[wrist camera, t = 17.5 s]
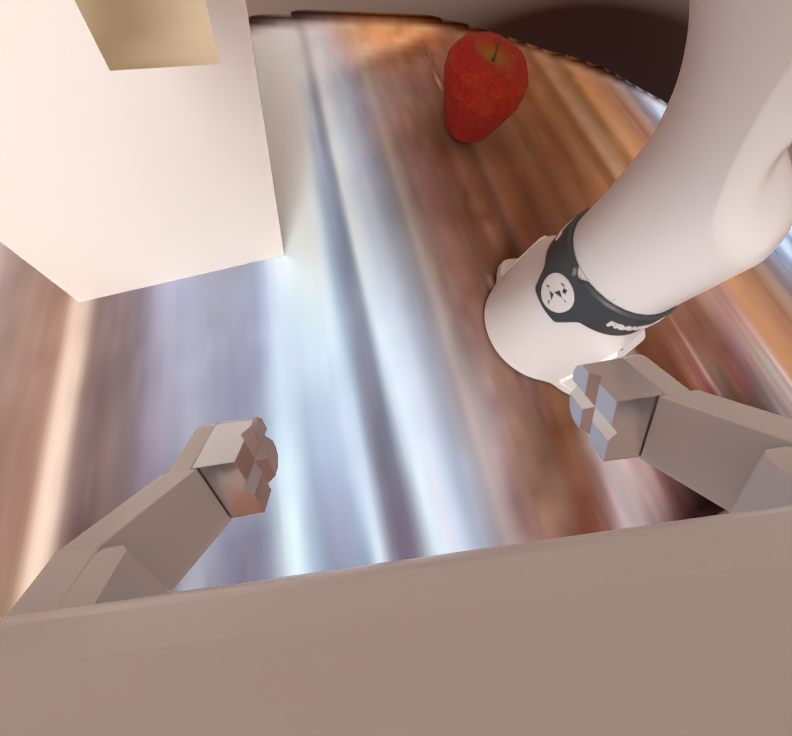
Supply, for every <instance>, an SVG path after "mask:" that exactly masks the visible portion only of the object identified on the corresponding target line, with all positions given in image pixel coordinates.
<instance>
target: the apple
mask: <svg viewBox="0 0 792 736" xmlns="http://www.w3.org/2000/svg"><path fill="white" fill-rule="evenodd" d="M527 87H528V70H527V64H526V60H525V58H524V56H523V54H522V51H521V50H519V49H518V48H517V47H516V46H515V45H514V44H513V43H512V42H510V41H509V40H507V39H506V38H504V37H503V36H501V35H498V34H495V33H491V32H474V33H469V34H466V35H465V36H464V37H462V38H461V39H460V40H458V41H457V42H456V43H455V44H454V45H453V46H452V47H451V48H450V50H449V53H448V56H447V60H446V63H445V66H444V112H445V125H446V127H447V129H448V131H449V132H450V134H451V136H452V138H453V139H455V140H456V141H458V142H460V143H473V142H478V141H481V140H483V139H484V138H486V137H487V136H488V135H489V134H490V133H491V132H493V131H494V130H495V129H496V128H497V127H499V126H500V125H501V124H502V123H503V122H504V121H505V120H506V119H507V118H508V117H509V116H510V115H511V114H512V113H513V112H514V111H516V110H517V108H518V106H519V104H520V102H521V100H522V98H523V96H524V94H525V91H526V89H527Z"/></svg>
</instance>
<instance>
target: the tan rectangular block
mask: <svg viewBox="0 0 792 736" xmlns="http://www.w3.org/2000/svg"><path fill="white" fill-rule="evenodd" d="M75 2H76V4H77V6H78V8H79V10H80V12H81V14H82V16H83V18H84V20H85V22H86V24H87V26H88V28H89V30H90V32H91V34H92V36H93V38H94V40H95V42H96V44H97V46H98V48H99V50H100V52H101V54H102V56H103V58H104V60H105V62H106V64H107V66H108V68H109V70H110V71H114V70H130V69H146V68H163V67H179V66H195V65H211V64H220V61H219V56H218V52H217V48H216V44H215V39H214V35H213V31H212V27H211V22H210V18H209V14H208V10H207V5H206V1H205V0H75Z"/></svg>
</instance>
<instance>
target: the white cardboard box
mask: <svg viewBox="0 0 792 736" xmlns="http://www.w3.org/2000/svg"><path fill="white" fill-rule="evenodd" d="M205 1H206V5H207V10H208V14H209V18H210V22H211V27H212V31H213V35H214V39H215V44H216V48H217V52H218V56H219V61H220V64H211V65H195V66H179V67H163V68H146V69H130V70H114V71H110V70H109V68H108V66H107V64H106V62H105V60H104V58H103V56H102V54H101V52H100V50H99V48H98V46H97V44H96V42H95V40H94V38H93V36H92V34H91V32H90V30H89V28H88V26H87V24H86V22H85V20H84V18H83V16H82V14H81V12H80V10H79V8H78V6H77V4H76V2H75V0H0V242H2V243H3V244H4V245H5V246H7V247H8V248H9V249H11V250H12V251H13V252H15V253H16V254H17V255H18V256H20V257H21V258H22V259H24V260H25V261H26V262H28V263H29V264H30V265H32V266H33V267H34V268H35V269H37V270H38V271H39V272H41V273H42V274H43V275H45V276H46V277H47V278H48V279H50V280H51V281H52V282H54V283H55V284H56V285H58V286H59V287H60V288H62V289H63V290H64V291H65V292H67V293H68V294H69V295H71V296H72V297H73V298H75V299H76V300H77V301H78V302H82V301H87V300H91V299H95V298H100V297H104V296H109V295H113V294H117V293H122V292H126V291H130V290H135V289H139V288H143V287H148V286H152V285H156V284H161V283H165V282H170V281H174V280H178V279H183V278H187V277H191V276H196V275H200V274H204V273H209V272H213V271H217V270H222V269H226V268H231V267H235V266H239V265H244V264H248V263H252V262H257V261H261V260H265V259H270V258H274V257H278V256H283V255H284V250H283V244H282V237H281V231H280V224H279V217H278V211H277V204H276V198H275V191H274V184H273V178H272V171H271V165H270V158H269V151H268V145H267V138H266V131H265V125H264V118H263V112H262V105H261V98H260V92H259V85H258V79H257V72H256V65H255V59H254V52H253V46H252V39H251V32H250V26H249V19H248V13H247V6H246V0H205Z"/></svg>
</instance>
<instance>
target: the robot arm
mask: <svg viewBox="0 0 792 736" xmlns="http://www.w3.org/2000/svg"><path fill="white" fill-rule="evenodd" d="M791 144H792V0H690V16H689V25H688V35H687V42H686V47H685V53H684V58H683V63H682V67H681V71H680V74H679V77H678V81H677V83H676V86H675V89H674V91H673V94H672V97H671V99H670V101H669V104H668V106H667V108H666V110H665V112H664V114H663V116H662V118H661V120H660V122H659V124H658V126H657V128H656V129H655V131H654V133H653V134H652V136H651V137H650V139H649V140H648V142H647V143H646V145H645V146H644V147H643V149H642V150H641V151H640V153H639V154H638V155H637V156H636V157H635V159H634V160H633V161H632V162H631V164H630V165H629V166H628V167H627V168H626V170H625V171H624V172H623V173H622V174H621V175H620V177H619V178H618V179H617V180H616V181H615V182H614V183H613V185H612V186H611V187H610V188H609V189H608V190H607V191H606V192H605V193H604V194H603V196H602V197H601V198H600V199H599V200H598V201H597V202H596V203H595V204H594V205H593V206H592V207H591V208H588V209H586V210H584V211H582V212H581V213H579V214H578V215H577V216H576V217H575V218H574V219H572V220H571V221H569V222H568V223H567V224H566V225H565V226H564V227H563V228H562V229H561V231H560V232H559V233H558V235H553V236H543V237H541V238H540V239H538V240H537V241H536V242H535V243H534V244H533V245H532V246H531V247H530V248H529V249H528V250H527V251H526V252H525V253H524V254H523V255H522V256H521V257H519V258H517V259H507V260H504V261H503V262H502V263H501V264H500V265H499V266H498V269H497V280H496V284H495V286H494V288H493V289H492V291H491V293H490V294H489V296H488V299H487V301H486V305H485V312H484V318H485V326H486V330H487V333H488V336H489V338H490V341H491V343H492V344H493V346H494V348H495V349H496V351H497V352H498V354H499V355H500V356H501V357H502V358H503V359H504V360H505V361H506V362H507V363H508V364H509V365H510V366H511V367H513V368H514V369H515V370H517V371H519V372H520V373H522V374H524V375H526V376H528V377H531V378H534V379H538V380H542V381H546V382H549V383H551V384H553V385H554V386H556V387H557V388H559V389H560V390H562V391H563V392H565V393H567V394H569V395H570V403H569V404H570V410H571V414H572V417H573V419H574V421H575V423H576V424H577V426H578V427H579V429H581V430H583V431H585V432H587V433H589V434H590V437H589V442H590V444H591V445H592V446H593V448H594V449H595V450H596V452H597V453H598V455H599V456H600V457H601V459H602V460H603V461H610V460H618V459H627V458H635V457H641V458H640V459H642V460H644V461H645V462H647V463H649V464H650V465H652V466H654V467H655V468H657V469H659V470H660V471H662V472H664V473H665V474H667V475H669V476H670V477H672V478H674V479H675V480H677V481H679V482H681V483H682V484H684V485H686V486H687V487H689V488H691V489H692V490H694V491H696V492H697V493H699V494H701V495H702V496H704V497H706V498H707V499H709V500H711V501H712V502H714V503H716V504H717V505H719V506H721V507H722V508H724V509H726V510H727V511H729V512H730V513H728V514H721V515H714V516H707V517H700V518H693V519H686V520H679V521H672V522H665V523H658V524H651V525H644V526H637V527H630V528H623V529H616V530H609V531H602V532H595V533H588V534H581V535H574V536H567V537H560V538H553V539H547V540H540V541H533V542H526V543H519V544H512V545H505V546H498V547H491V548H484V549H477V550H470V551H463V552H456V553H448V554H441V555H434V556H427V557H420V558H413V559H406V560H399V561H392V562H385V563H378V564H371V565H364V566H357V567H350V568H343V569H336V570H329V571H322V572H315V573H308V574H301V575H293V576H286V577H279V578H272V579H265V580H258V581H251V582H244V583H237V584H230V585H223V586H216V587H209V588H202V589H195V590H188V591H181V592H174V593H172V592H171V591H172V590H173V589H174V588H175V587H176V585H177V584H178V583H179V582H180V581H181V579H182V578H183V577H184V576H185V575H186V573H187V572H188V571H189V570H190V569H191V567H192V566H193V565H194V564H195V563H196V562H197V560H198V559H199V558H200V557H201V556H202V554H203V553H204V552H205V551H206V550H207V548H208V547H209V546H210V545H211V544H212V543H213V541H214V540H215V539H216V538H217V537H218V535H219V534H220V533H221V532H222V531H223V529H224V528H225V527H226V526H227V525H228V524H229V522H230V521H231V519H230V518H236V517H241V516H247V515H252V514H258V513H264V512H265V508H266V505H267V502H268V499H269V495H270V492H271V489H270V487H269V485H268V483H269V482H270V481H271V480H272V479H273V478H274V477H275V475H276V471H277V468H278V454H277V450H276V447H275V445H274V442H273V441H272V440H271V439H269V438H267V437H266V436H264V435H265V432H266V429H267V428H266V426H265V424H264V422H263V420H262V419H261V418H258V417H253V418H246V419H239V420H232V421H225V422H220V423H212V424H205V425H202V426H200V427H198V428H197V429H196V431H195V432H194V434H193V435H192V437H191V438H190V440H189V442H188V443H187V445H186V446H185V448H184V450H183V451H182V453H181V454H180V456H179V457H178V459H177V461H176V462H175V464H174V465H173V467H172V469H171V470H170V472H169V473H166V474H162V475H161V476H159V477H158V478H156V479H155V480H154V481H152V482H151V483H150V484H148V485H147V486H146V487H144V488H143V489H142V490H140V491H139V492H138V493H136V494H135V495H133V496H132V497H131V498H129V499H128V500H127V501H125V502H124V503H123V504H121V505H120V506H119V507H117V508H116V509H115V510H113V511H112V512H111V513H109V514H108V515H106V516H105V517H104V518H102V519H101V520H100V521H98V522H97V523H96V524H94V525H93V526H92V527H90V528H89V529H88V530H86V531H85V532H84V533H82V534H81V535H79V536H78V537H77V538H75V539H74V540H73V541H71V542H70V543H69V544H67V545H66V546H65V547H63V548H62V549H61V550H59V551H58V552H57V553H55V554H54V556H53V557H52V558H51V559H50V561H49V562H48V563H47V565H46V566H45V567H44V568H43V570H42V571H41V572H40V573H39V575H38V576H37V577H36V579H35V580H34V581H33V582H32V584H31V585H30V586H29V588H28V589H27V590H26V591H25V593H24V594H23V595H22V597H21V598H20V599H19V600H18V602H17V603H16V604H15V605H14V607H13V608H12V609H11V611H10V612H9V613H8V614H7V616H6V617H0V736H792V419H790V418H787V417H783V416H780V415H777V414H774V413H770V412H767V411H764V410H761V409H757V408H754V407H751V406H748V405H744V404H741V403H738V402H735V401H731V400H728V399H725V398H722V397H718V396H715V395H712V394H709V393H705V392H702V391H699V390H695V391H690V390H688V389H687V388H686V387H685V386H683V385H682V384H681V383H679V382H678V381H677V380H675V379H674V378H673V377H672V376H670V375H669V374H668V373H666V372H665V371H664V370H662V369H661V368H660V367H659V366H657V365H656V364H655V363H653V362H652V361H651V360H649V359H648V358H647V357H646V356H643V355H640V354H636V355H631V356H626V357H623V356H625V355H626V354H627V353H628V352H630V351H631V350H632V349H633V348H634V347H636V346H637V345H638V344H639V343H640V342H642V341H643V340H644V338H645V328H647V327H649V326H651V325H653V324H655V323H657V322H659V321H660V320H661V319H663V318H664V317H665V316H667V315H669V314H670V313H671V312H672V311H674V310H675V309H676V307H677V306H678V305H679V304H681V303H683V302H685V301H687V300H689V299H690V298H692V297H694V296H696V295H698V294H700V293H702V292H704V291H706V290H708V289H710V288H712V287H714V286H716V285H718V284H720V283H722V282H724V281H726V280H728V279H730V278H732V277H734V276H736V275H738V274H740V273H742V272H744V271H746V270H748V269H750V268H752V267H754V266H756V265H758V264H759V263H760V262H762V261H763V260H764V259H765V258H766V257H768V256H769V255H770V254H771V253H772V252H773V251H774V250H775V249H776V248H777V246H778V245H779V244H780V243H781V242H782V241H783V239H784V238H785V236H786V235H787V233H788V232H789V230H790V228H791V225H792V164H791V160H790V157H789V152H788V147H789V146H790V145H791Z"/></svg>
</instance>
